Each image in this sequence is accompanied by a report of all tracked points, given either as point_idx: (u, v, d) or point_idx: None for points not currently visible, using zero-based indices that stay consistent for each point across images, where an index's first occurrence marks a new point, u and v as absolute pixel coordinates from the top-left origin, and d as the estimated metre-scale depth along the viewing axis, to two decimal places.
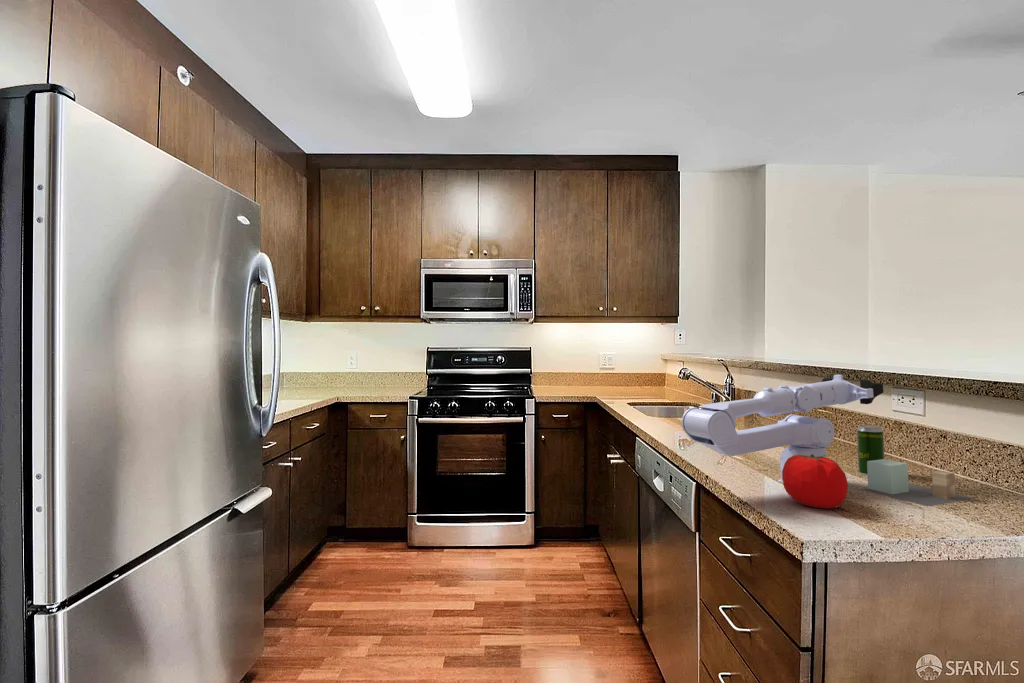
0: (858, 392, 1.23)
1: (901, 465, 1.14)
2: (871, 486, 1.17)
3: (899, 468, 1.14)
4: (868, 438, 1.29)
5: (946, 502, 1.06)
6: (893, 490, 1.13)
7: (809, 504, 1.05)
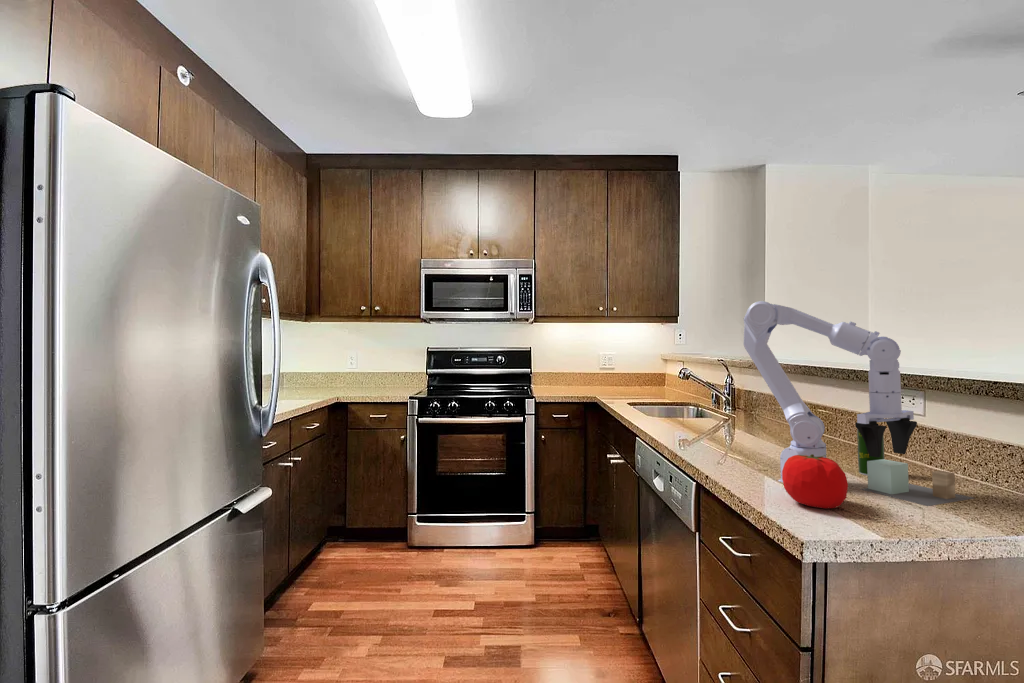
0: (869, 414, 1.14)
1: (901, 465, 1.14)
2: (871, 486, 1.17)
3: (899, 468, 1.14)
4: None
5: (946, 502, 1.06)
6: (893, 490, 1.13)
7: (809, 504, 1.05)
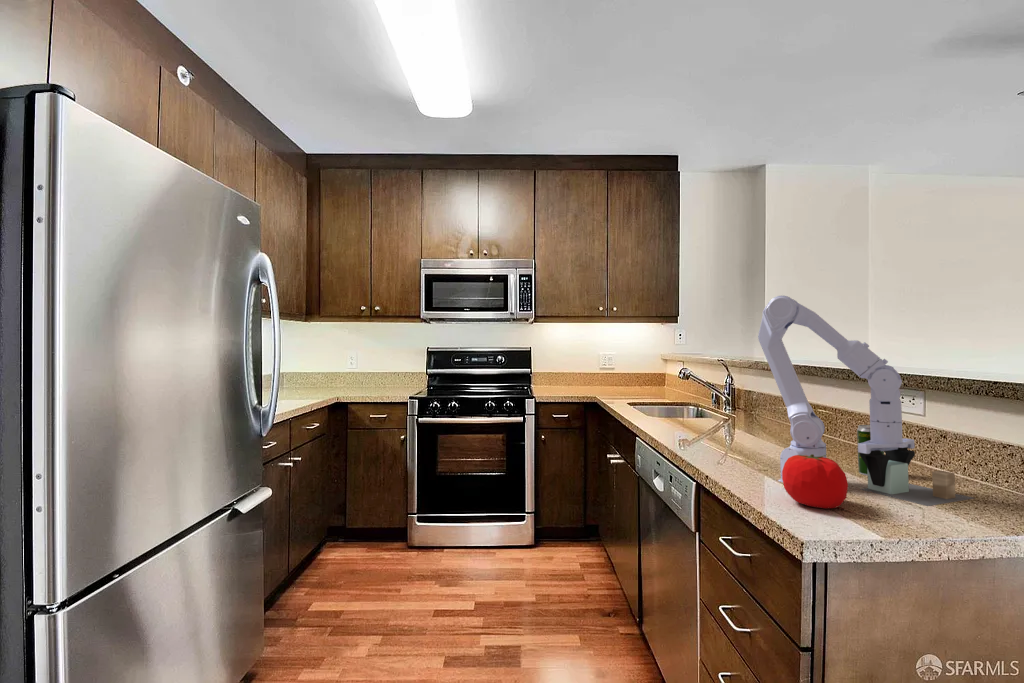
0: (870, 444, 1.14)
1: (901, 465, 1.14)
2: (871, 486, 1.17)
3: (899, 468, 1.14)
4: (868, 438, 1.29)
5: (946, 502, 1.06)
6: (893, 490, 1.13)
7: (809, 504, 1.05)
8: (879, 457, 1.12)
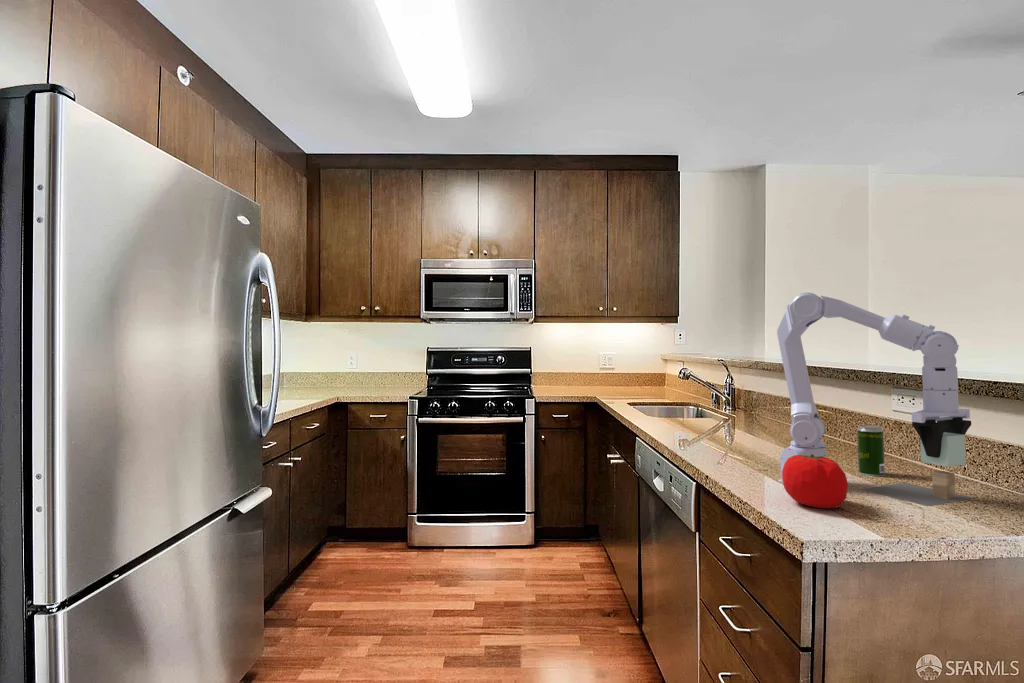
0: (924, 413, 1.09)
1: (958, 436, 1.08)
2: (925, 459, 1.11)
3: (956, 439, 1.08)
4: (868, 438, 1.29)
5: (946, 502, 1.06)
6: (950, 462, 1.07)
7: (809, 504, 1.05)
8: (935, 426, 1.07)
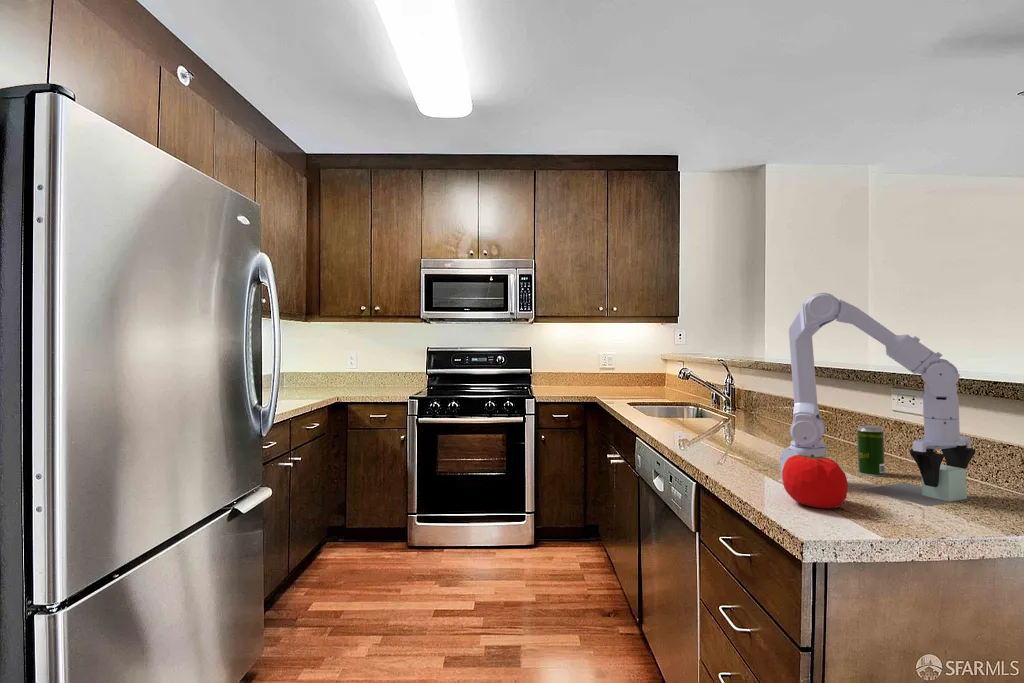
0: (926, 441, 1.08)
1: (959, 470, 1.08)
2: (926, 492, 1.11)
3: (957, 474, 1.08)
4: (868, 438, 1.29)
5: (946, 502, 1.06)
6: (951, 497, 1.07)
7: (809, 504, 1.05)
8: (933, 456, 1.06)
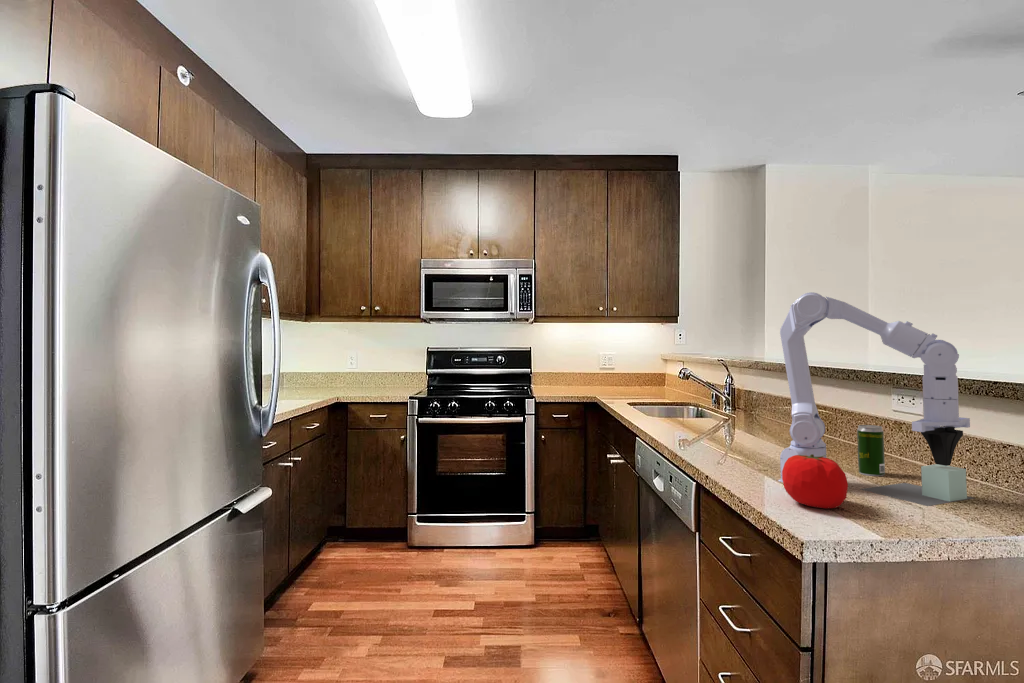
0: (925, 422, 1.09)
1: (959, 470, 1.08)
2: (926, 492, 1.11)
3: (957, 474, 1.08)
4: (868, 438, 1.29)
5: (946, 502, 1.06)
6: (951, 497, 1.07)
7: (809, 504, 1.05)
8: (944, 434, 1.08)
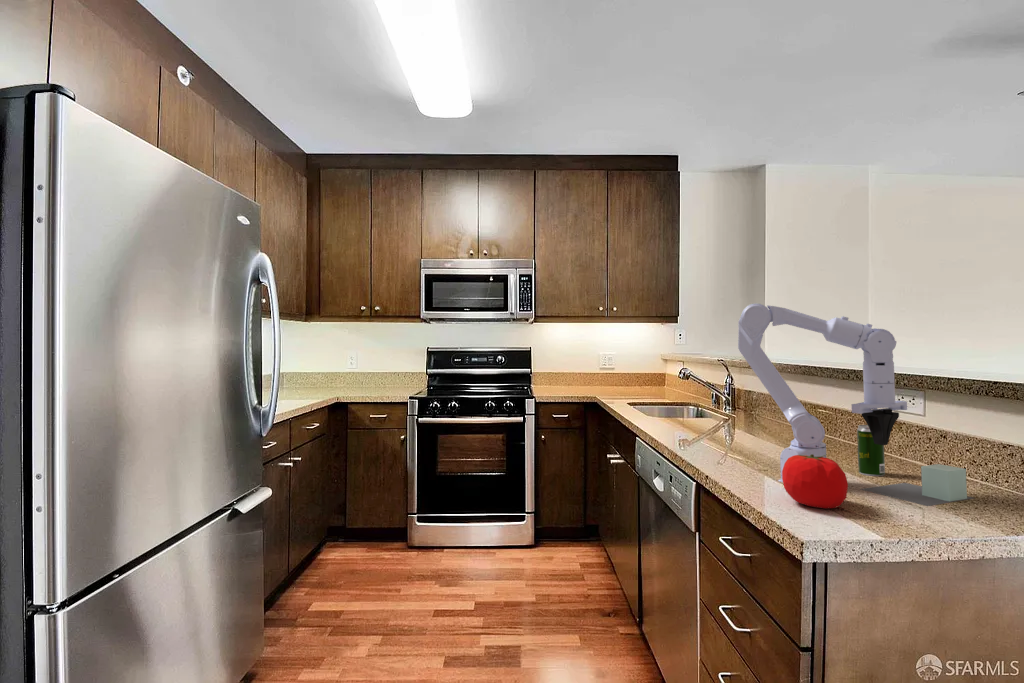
0: (863, 404, 1.17)
1: (959, 470, 1.08)
2: (926, 492, 1.11)
3: (957, 474, 1.08)
4: (868, 438, 1.29)
5: (946, 502, 1.06)
6: (951, 497, 1.07)
7: (809, 504, 1.05)
8: (881, 416, 1.16)
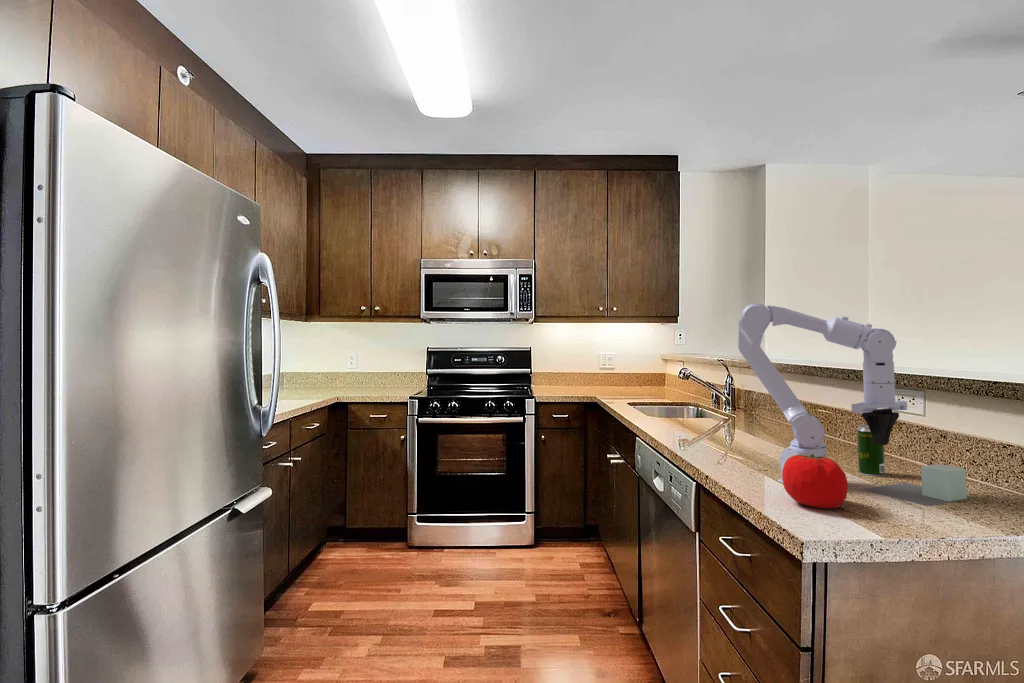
0: (863, 404, 1.17)
1: (959, 470, 1.08)
2: (926, 492, 1.11)
3: (957, 474, 1.08)
4: (868, 438, 1.29)
5: (946, 502, 1.06)
6: (951, 497, 1.07)
7: (809, 504, 1.05)
8: (881, 416, 1.16)
